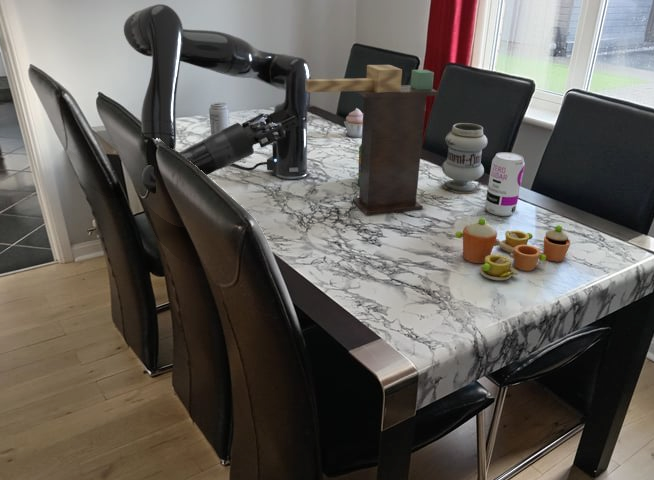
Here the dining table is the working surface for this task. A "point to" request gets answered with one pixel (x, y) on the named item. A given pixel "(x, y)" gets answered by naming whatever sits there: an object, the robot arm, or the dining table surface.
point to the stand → (391, 150)
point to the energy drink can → (218, 117)
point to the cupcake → (354, 123)
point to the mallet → (361, 81)
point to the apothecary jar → (464, 157)
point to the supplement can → (504, 183)
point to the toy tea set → (509, 249)
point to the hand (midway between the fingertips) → (291, 116)
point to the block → (422, 79)
